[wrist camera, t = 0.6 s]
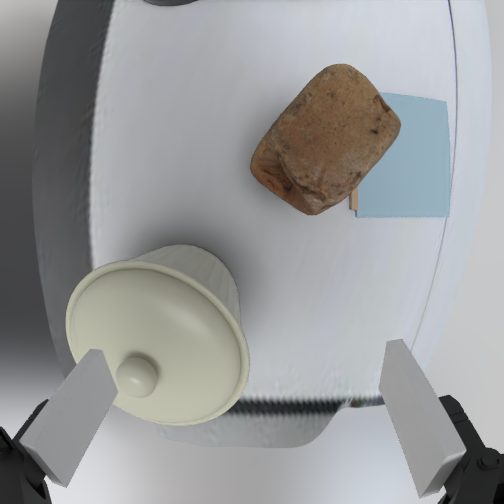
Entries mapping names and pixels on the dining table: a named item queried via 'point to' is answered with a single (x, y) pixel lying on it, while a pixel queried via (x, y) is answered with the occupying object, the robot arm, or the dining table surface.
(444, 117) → the book
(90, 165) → the dining table surface
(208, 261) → the canister
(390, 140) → the pitted brown rock
